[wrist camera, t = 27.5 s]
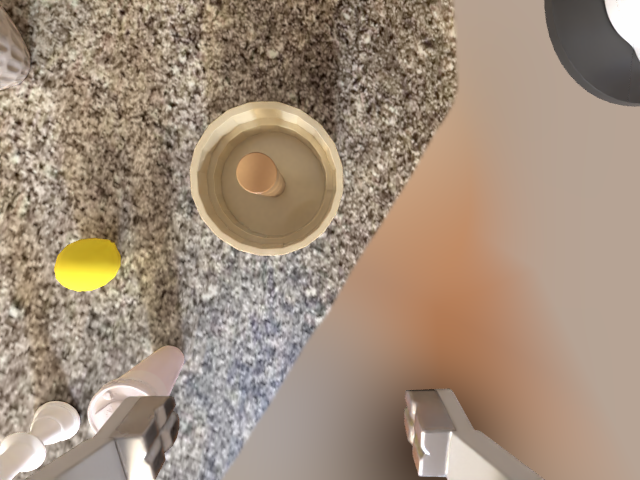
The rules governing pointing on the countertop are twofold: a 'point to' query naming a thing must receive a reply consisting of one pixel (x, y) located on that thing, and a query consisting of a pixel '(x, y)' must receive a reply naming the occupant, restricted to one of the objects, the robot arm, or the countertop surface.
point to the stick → (260, 175)
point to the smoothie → (137, 384)
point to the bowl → (291, 160)
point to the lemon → (87, 264)
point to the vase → (12, 53)
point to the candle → (37, 438)
